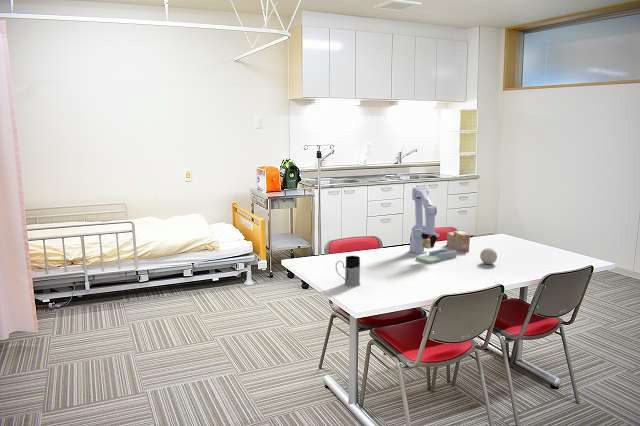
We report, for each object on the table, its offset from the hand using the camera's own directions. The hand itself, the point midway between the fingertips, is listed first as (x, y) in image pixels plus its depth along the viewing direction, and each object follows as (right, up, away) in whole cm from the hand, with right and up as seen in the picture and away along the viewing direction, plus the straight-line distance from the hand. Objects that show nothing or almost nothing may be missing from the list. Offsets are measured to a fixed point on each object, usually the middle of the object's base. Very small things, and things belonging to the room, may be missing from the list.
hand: (428, 246), depth 329 cm
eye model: (+36, -11, -4) cm, 38 cm away
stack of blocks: (+28, -4, +36) cm, 45 cm away
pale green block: (+7, -9, +7) cm, 13 cm away
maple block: (-1, -1, 0) cm, 1 cm away
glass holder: (-54, -18, -47) cm, 74 cm away
